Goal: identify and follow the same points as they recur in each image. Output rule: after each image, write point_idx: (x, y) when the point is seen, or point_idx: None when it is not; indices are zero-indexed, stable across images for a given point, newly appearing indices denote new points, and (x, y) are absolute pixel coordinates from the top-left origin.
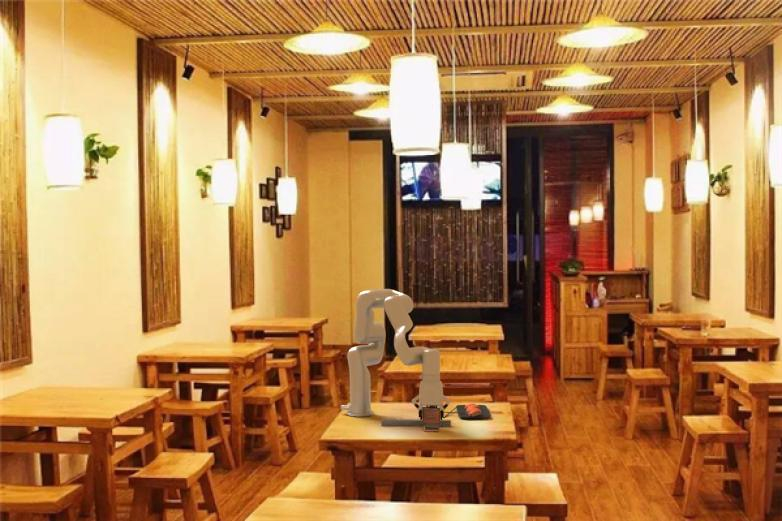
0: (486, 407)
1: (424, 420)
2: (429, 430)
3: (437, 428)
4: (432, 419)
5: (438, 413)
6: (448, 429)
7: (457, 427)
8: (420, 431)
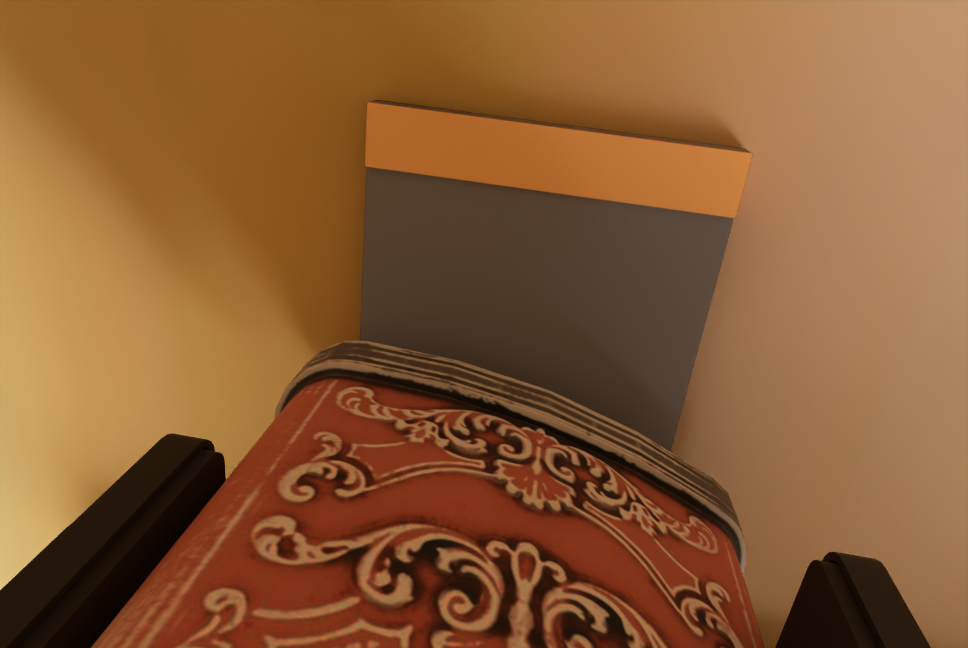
0: None
1: (704, 560)
2: (597, 147)
3: None
4: (461, 485)
5: (151, 597)
6: (165, 334)
7: (25, 468)
8: (827, 199)
